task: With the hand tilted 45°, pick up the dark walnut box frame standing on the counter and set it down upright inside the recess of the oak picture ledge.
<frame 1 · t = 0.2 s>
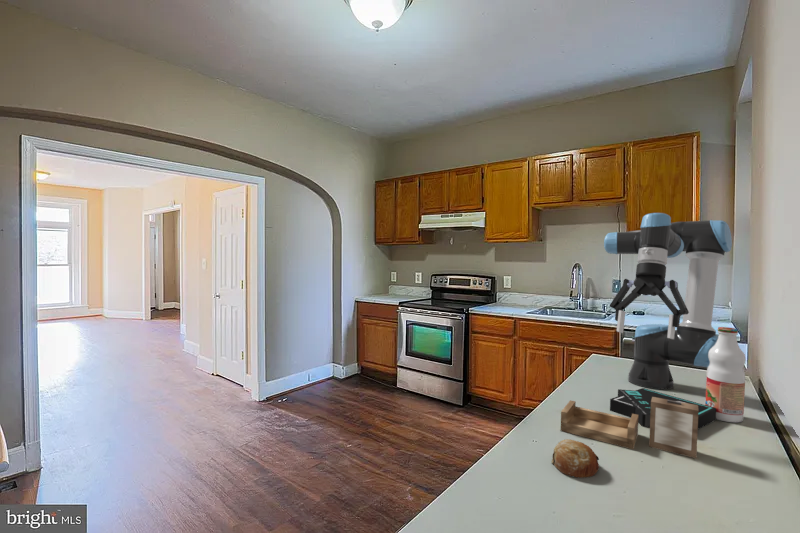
hand: (644, 335, 118), 27 cm above the countertop, tool pointing down, fingers open, 13 cm apart
fruit juice: (723, 417, 127), on the countertop
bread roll: (575, 468, 95), on the countertop
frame: (672, 449, 105), on the countertop
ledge: (598, 432, 114), on the countertop
wall plaque: (661, 416, 128), on the countertop
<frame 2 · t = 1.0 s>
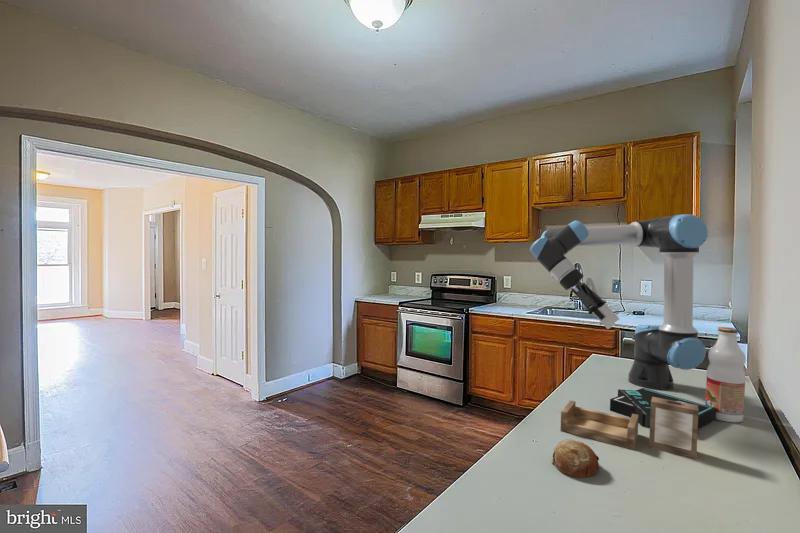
hand: (614, 324, 131), 28 cm above the countertop, tool tilted 45°, fingers open, 13 cm apart
nothing on the countertop moved.
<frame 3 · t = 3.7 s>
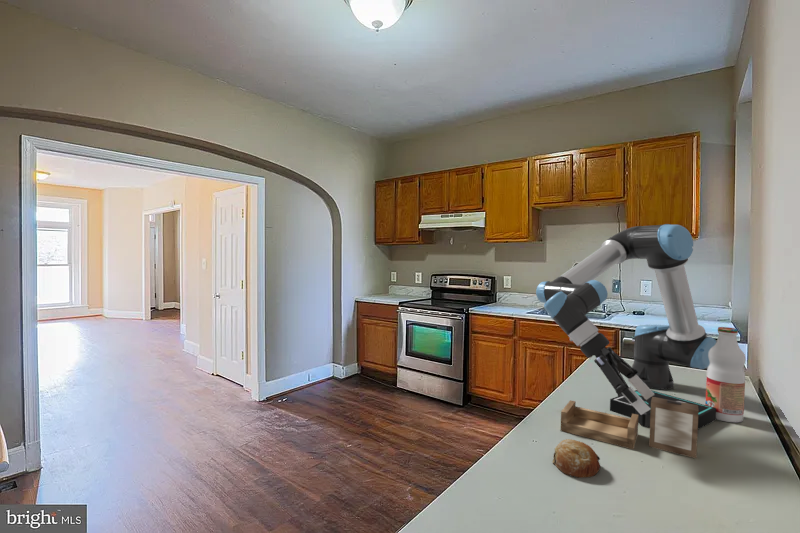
hand: (648, 404, 107), 11 cm above the countertop, tool tilted 45°, fingers open, 13 cm apart
nothing on the countertop moved.
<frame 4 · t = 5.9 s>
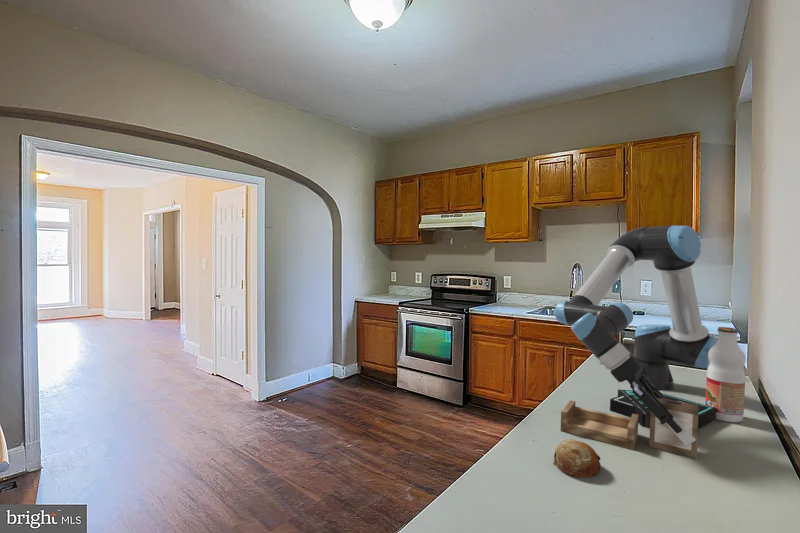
hand: (690, 438, 103), 4 cm above the countertop, tool tilted 45°, fingers closed on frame, 5 cm apart
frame: (672, 448, 105), on the countertop, touching gripper
everything else where it was.
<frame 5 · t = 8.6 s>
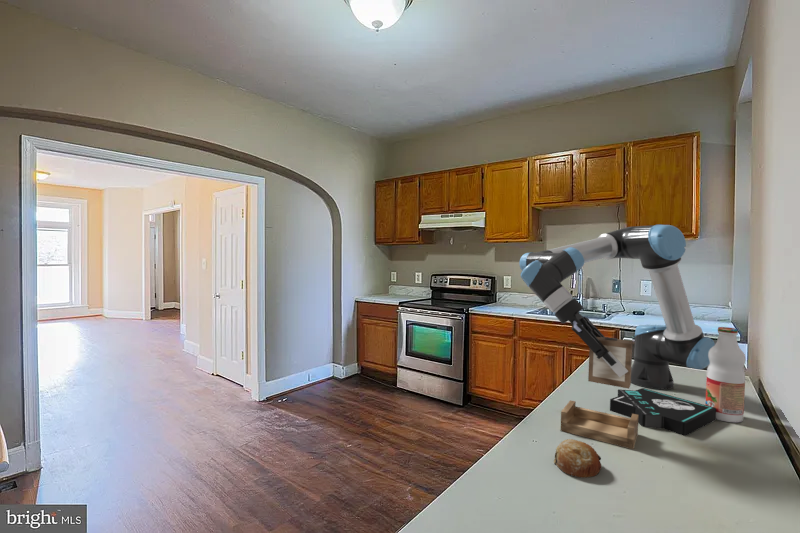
hand: (625, 371, 110), 18 cm above the countertop, tool tilted 45°, fingers closed on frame, 5 cm apart
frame: (609, 382, 112), point 15 cm above the countertop, touching gripper
everything else where it was.
when the fingers open (7 cm above the countertop, at t = 11.2 s): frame drops 1 cm, resting on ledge.
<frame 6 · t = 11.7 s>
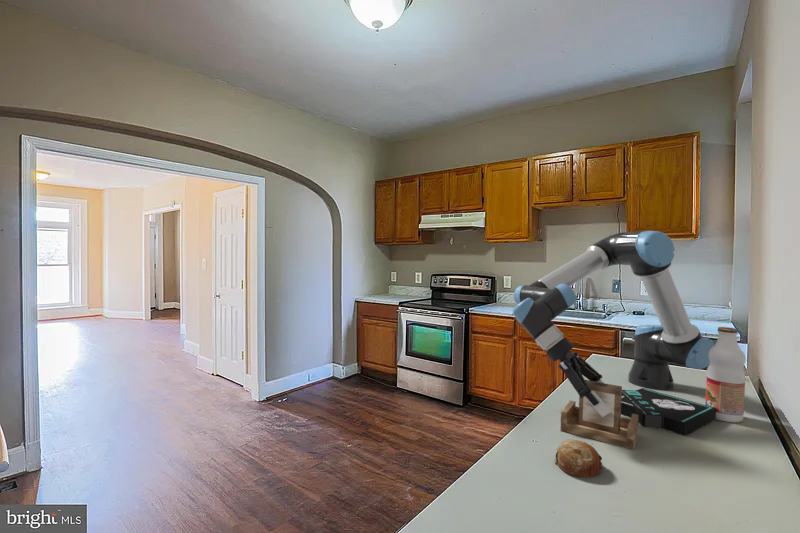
hand: (610, 407, 112), 8 cm above the countertop, tool tilted 45°, fingers open, 11 cm apart
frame: (599, 426, 114), point 1 cm above the countertop, touching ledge
everything else where it was.
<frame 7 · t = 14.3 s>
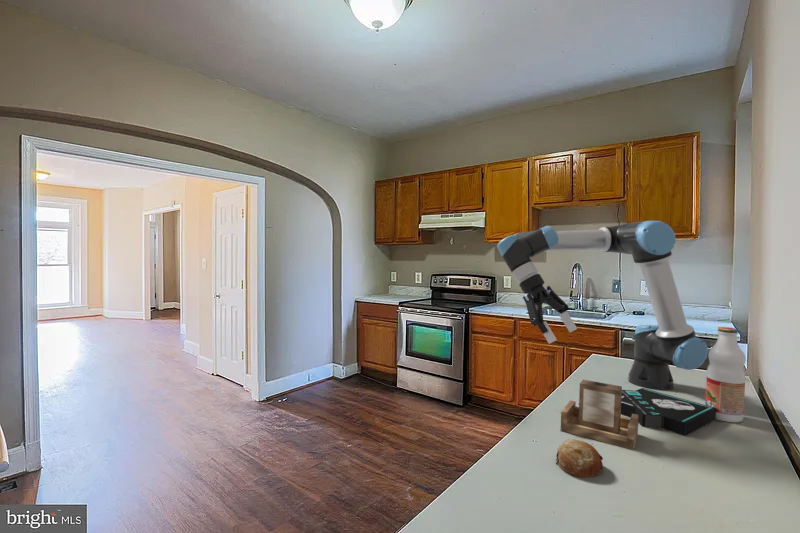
hand: (563, 336, 128), 24 cm above the countertop, tool tilted 35°, fingers open, 13 cm apart
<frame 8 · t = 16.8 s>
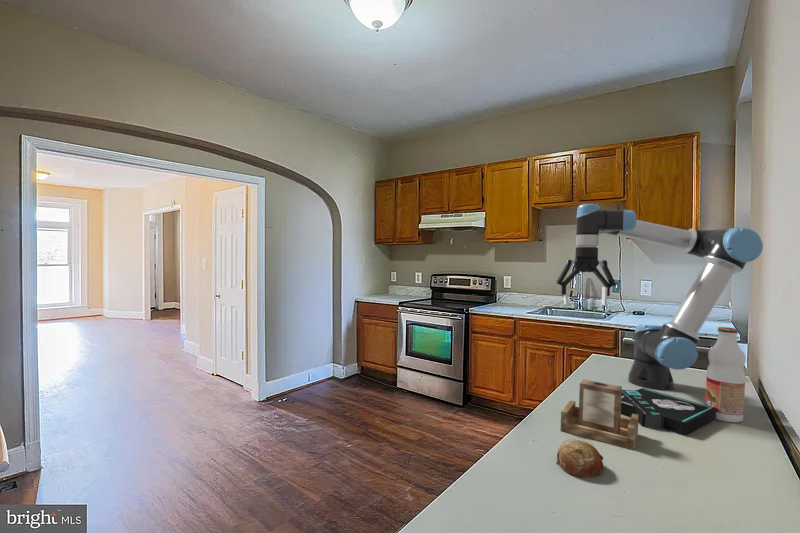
hand: (584, 304, 149), 32 cm above the countertop, tool pointing down, fingers open, 13 cm apart
at the end: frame inside the target area on the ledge (0.2 cm from its centre), point 1.5 cm above the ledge's base; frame tilted 0°; the gripper is holding nothing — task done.
